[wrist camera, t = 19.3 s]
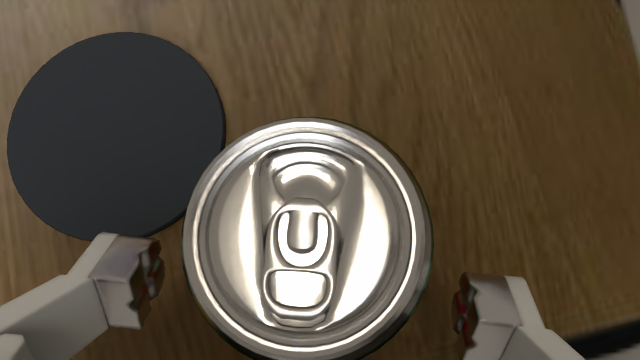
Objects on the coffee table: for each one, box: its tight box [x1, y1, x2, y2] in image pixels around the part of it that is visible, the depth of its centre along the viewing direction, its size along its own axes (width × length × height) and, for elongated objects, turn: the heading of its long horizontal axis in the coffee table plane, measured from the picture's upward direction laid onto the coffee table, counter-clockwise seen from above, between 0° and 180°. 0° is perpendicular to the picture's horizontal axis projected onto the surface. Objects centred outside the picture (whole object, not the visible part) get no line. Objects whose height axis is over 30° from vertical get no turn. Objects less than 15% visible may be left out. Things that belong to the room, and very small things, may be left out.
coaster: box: [7, 32, 226, 241], centre depth 20 cm, size 10×10×1 cm
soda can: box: [181, 117, 434, 360], centre depth 14 cm, size 5×5×12 cm
